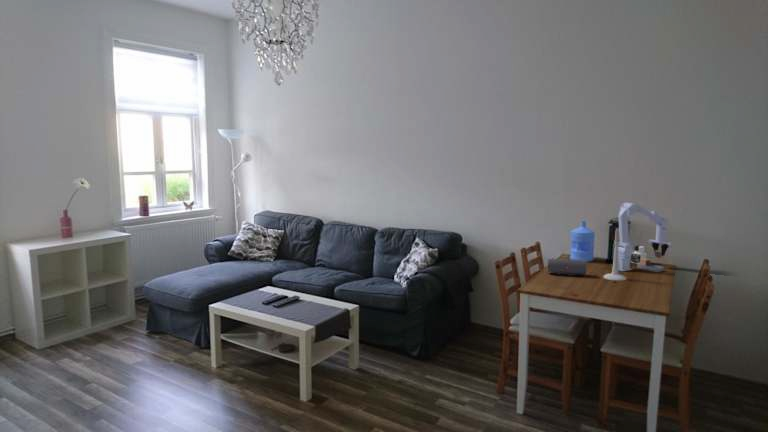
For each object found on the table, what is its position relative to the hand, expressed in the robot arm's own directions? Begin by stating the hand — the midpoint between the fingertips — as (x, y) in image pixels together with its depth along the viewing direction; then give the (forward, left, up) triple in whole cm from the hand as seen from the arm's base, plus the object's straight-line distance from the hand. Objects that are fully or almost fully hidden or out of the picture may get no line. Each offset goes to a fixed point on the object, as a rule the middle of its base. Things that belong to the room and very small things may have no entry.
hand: (659, 254), depth 327 cm
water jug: (-23, +43, -9) cm, 50 cm away
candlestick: (-49, -3, -9) cm, 50 cm away
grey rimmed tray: (-9, 0, -9) cm, 13 cm away
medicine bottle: (+2, +16, -9) cm, 18 cm away
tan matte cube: (0, 0, -2) cm, 2 cm away
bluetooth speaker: (-67, +18, -9) cm, 70 cm away
